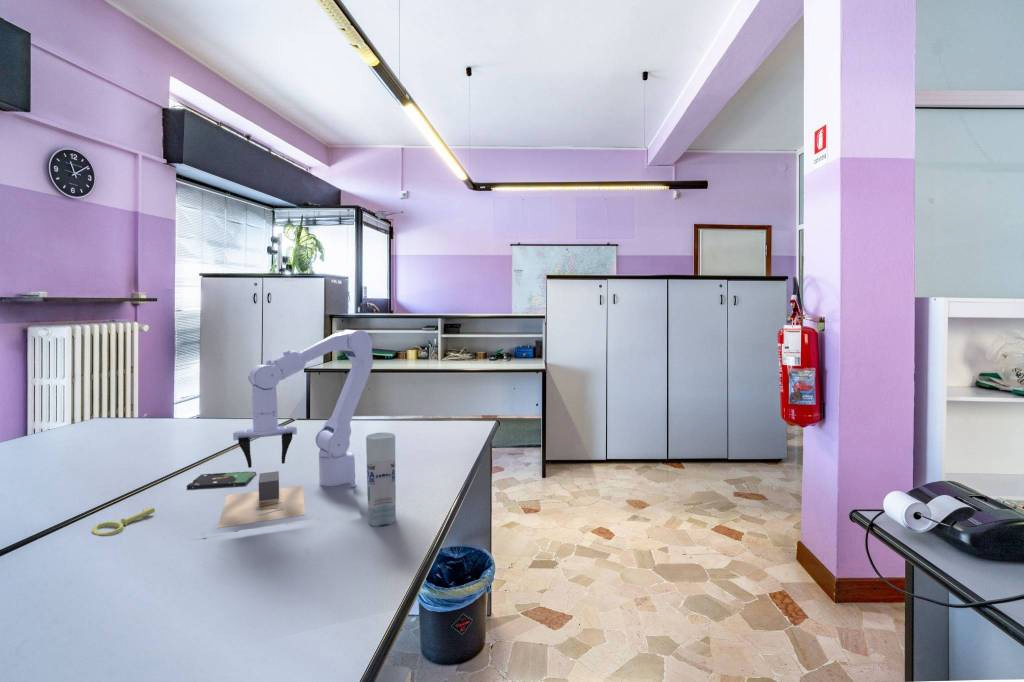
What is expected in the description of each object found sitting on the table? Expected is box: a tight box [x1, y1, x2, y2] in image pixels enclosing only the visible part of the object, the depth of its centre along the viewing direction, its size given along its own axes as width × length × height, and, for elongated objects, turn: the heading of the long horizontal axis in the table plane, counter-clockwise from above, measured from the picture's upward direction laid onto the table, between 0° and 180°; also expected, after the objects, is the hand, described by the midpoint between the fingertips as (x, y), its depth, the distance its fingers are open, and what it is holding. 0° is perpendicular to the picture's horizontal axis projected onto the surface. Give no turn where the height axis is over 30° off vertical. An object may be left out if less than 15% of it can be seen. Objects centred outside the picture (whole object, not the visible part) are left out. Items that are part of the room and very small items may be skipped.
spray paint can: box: [365, 432, 397, 527], centre depth 118 cm, size 6×6×20 cm
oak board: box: [217, 485, 307, 529], centre depth 125 cm, size 18×22×1 cm
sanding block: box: [258, 470, 280, 502], centre depth 131 cm, size 4×8×5 cm, turn 24°
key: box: [91, 507, 156, 536], centre depth 117 cm, size 7×12×2 cm, turn 174°
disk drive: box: [186, 471, 258, 491], centre depth 143 cm, size 10×3×15 cm
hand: (266, 464), depth 131 cm, fingers open, 7 cm apart
